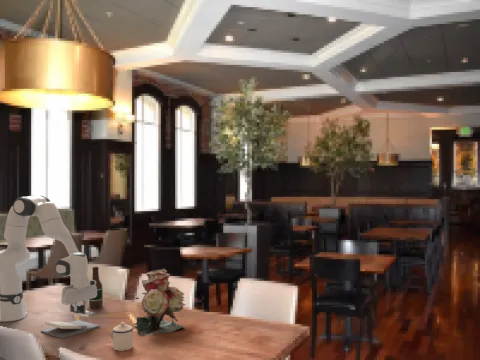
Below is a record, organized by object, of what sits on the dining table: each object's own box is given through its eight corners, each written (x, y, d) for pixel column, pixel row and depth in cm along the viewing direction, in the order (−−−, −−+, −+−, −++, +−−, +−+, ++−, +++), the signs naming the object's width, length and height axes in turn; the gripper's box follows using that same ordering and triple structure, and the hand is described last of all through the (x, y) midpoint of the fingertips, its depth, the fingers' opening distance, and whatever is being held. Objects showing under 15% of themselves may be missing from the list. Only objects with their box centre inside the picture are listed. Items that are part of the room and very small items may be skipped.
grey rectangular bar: (68, 312, 263) (68, 304, 263) (76, 310, 267) (76, 302, 267) (88, 316, 254) (88, 308, 254) (96, 314, 258) (96, 306, 258)
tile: (45, 321, 251) (45, 324, 250) (62, 326, 243) (62, 329, 242) (65, 321, 260) (64, 324, 260) (82, 326, 252) (82, 328, 252)
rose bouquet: (142, 339, 239) (141, 276, 239) (130, 322, 266) (129, 267, 266) (193, 331, 249) (192, 272, 249) (176, 317, 276) (176, 263, 276)
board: (41, 332, 251) (40, 326, 251) (77, 321, 269) (77, 316, 269) (63, 338, 240) (62, 333, 240) (99, 327, 258) (99, 321, 258)
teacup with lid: (137, 346, 228) (137, 321, 228) (123, 352, 220) (123, 326, 220) (118, 342, 234) (117, 317, 234) (103, 348, 226) (103, 322, 226)
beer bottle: (89, 308, 295) (88, 268, 295) (89, 305, 302) (88, 266, 302) (102, 307, 297) (102, 267, 297) (102, 304, 305) (102, 265, 304)
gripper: (66, 287, 251) (66, 315, 251) (98, 280, 268) (99, 306, 268) (58, 286, 255) (59, 313, 255) (91, 279, 271) (91, 304, 271)
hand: (79, 309), depth 261 cm, fingers closed on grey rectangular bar, 3 cm apart
